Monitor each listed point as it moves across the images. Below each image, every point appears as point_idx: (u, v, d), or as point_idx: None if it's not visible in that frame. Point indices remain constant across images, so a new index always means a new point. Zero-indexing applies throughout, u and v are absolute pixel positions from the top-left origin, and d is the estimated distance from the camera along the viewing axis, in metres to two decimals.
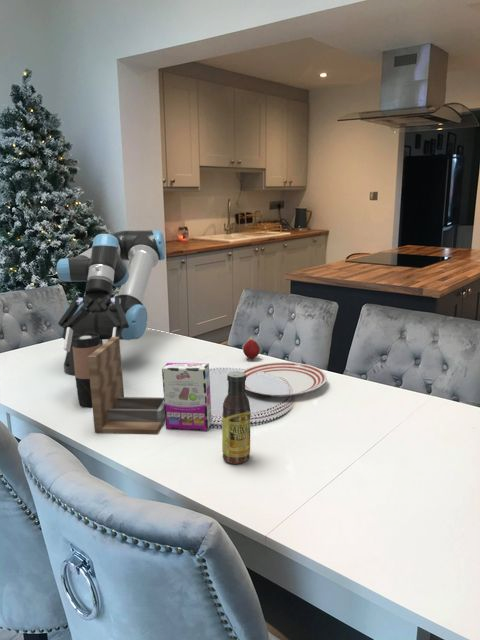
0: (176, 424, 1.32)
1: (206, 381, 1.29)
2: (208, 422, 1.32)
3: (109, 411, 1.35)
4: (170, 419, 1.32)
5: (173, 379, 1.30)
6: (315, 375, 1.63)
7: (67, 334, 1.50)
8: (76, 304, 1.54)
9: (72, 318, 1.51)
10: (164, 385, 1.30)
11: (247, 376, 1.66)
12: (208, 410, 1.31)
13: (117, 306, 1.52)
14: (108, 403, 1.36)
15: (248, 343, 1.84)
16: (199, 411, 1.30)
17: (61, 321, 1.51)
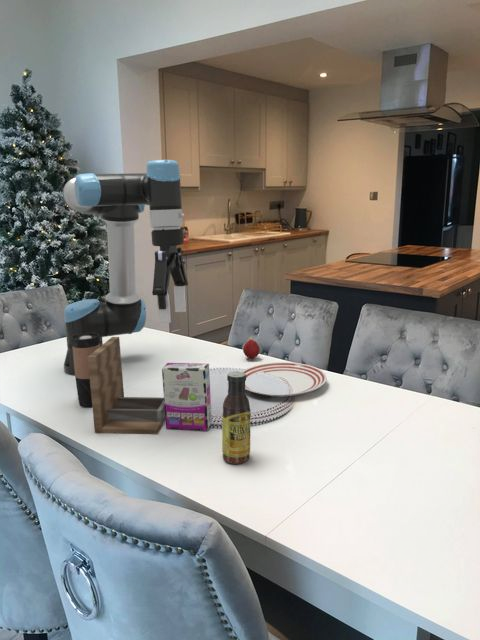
0: (176, 424, 1.32)
1: (206, 381, 1.29)
2: (208, 422, 1.32)
3: (109, 411, 1.35)
4: (170, 419, 1.32)
5: (173, 379, 1.30)
6: (315, 375, 1.63)
7: (169, 304, 1.21)
8: None
9: (167, 282, 1.20)
10: (164, 385, 1.30)
11: (247, 376, 1.66)
12: (208, 410, 1.31)
13: (181, 260, 1.32)
14: (108, 403, 1.36)
15: (248, 343, 1.84)
16: (199, 411, 1.30)
17: (164, 288, 1.17)
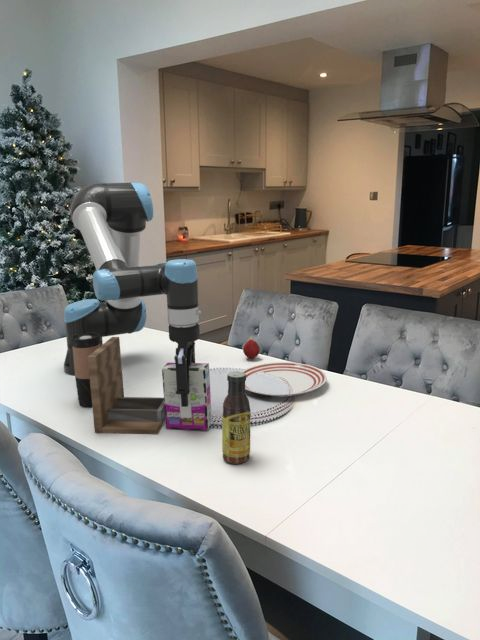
0: (176, 424, 1.32)
1: (206, 380, 1.29)
2: (208, 422, 1.32)
3: (109, 411, 1.35)
4: (170, 419, 1.32)
5: (173, 379, 1.30)
6: (315, 375, 1.63)
7: (190, 401, 1.30)
8: None
9: (188, 380, 1.28)
10: (164, 385, 1.30)
11: (247, 376, 1.66)
12: (208, 410, 1.31)
13: (194, 354, 1.35)
14: (108, 403, 1.36)
15: (248, 343, 1.84)
16: (199, 411, 1.30)
17: (187, 389, 1.26)
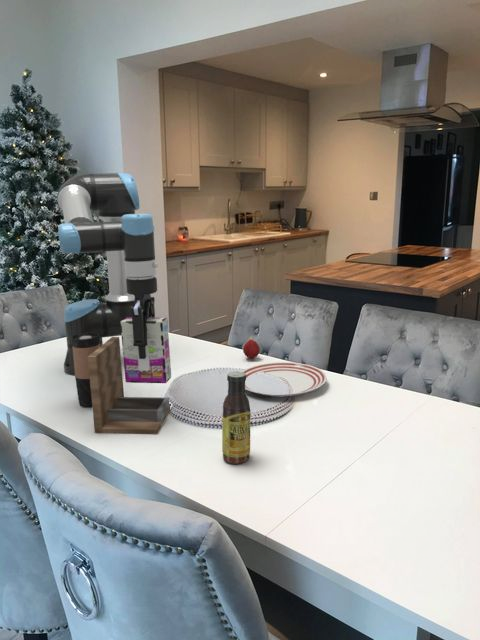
0: (135, 377, 1.34)
1: (163, 333, 1.31)
2: (167, 375, 1.34)
3: (109, 411, 1.35)
4: (129, 372, 1.34)
5: (131, 332, 1.32)
6: (315, 375, 1.63)
7: (148, 353, 1.32)
8: None
9: (146, 333, 1.30)
10: (123, 338, 1.33)
11: (247, 376, 1.66)
12: (166, 363, 1.34)
13: (153, 310, 1.38)
14: (108, 403, 1.36)
15: (248, 343, 1.84)
16: (157, 364, 1.33)
17: (144, 340, 1.28)
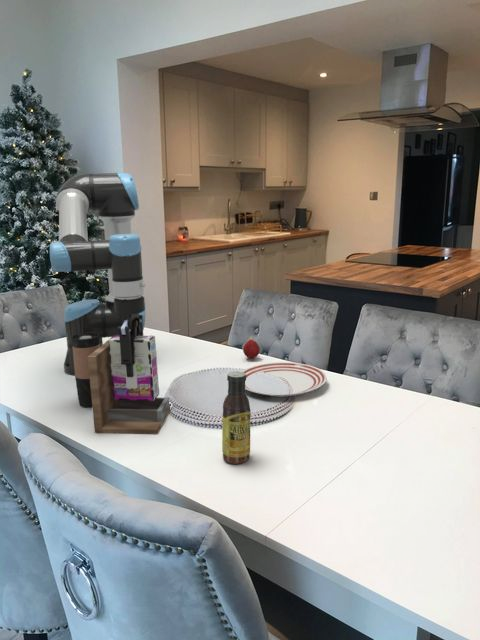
0: (123, 395, 1.36)
1: (151, 352, 1.33)
2: (154, 393, 1.36)
3: (109, 411, 1.35)
4: (117, 390, 1.36)
5: (119, 351, 1.33)
6: (315, 375, 1.63)
7: (136, 371, 1.34)
8: None
9: (133, 351, 1.32)
10: (111, 357, 1.34)
11: (247, 376, 1.66)
12: (154, 381, 1.35)
13: (142, 328, 1.39)
14: (108, 403, 1.36)
15: (248, 343, 1.84)
16: (145, 382, 1.34)
17: (131, 359, 1.30)
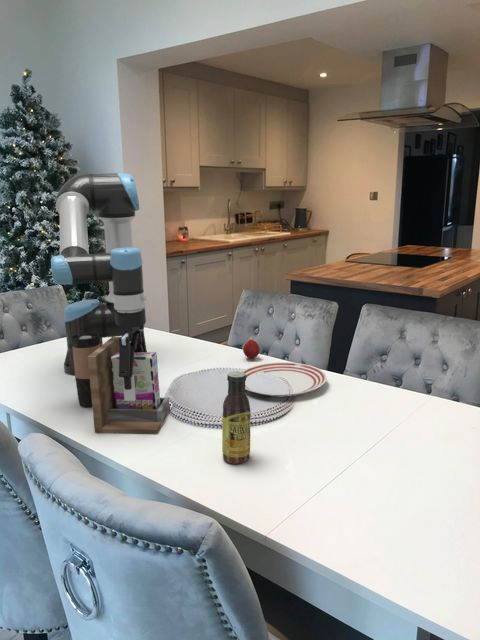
0: None
1: (153, 369, 1.35)
2: (156, 408, 1.38)
3: (109, 411, 1.35)
4: (120, 406, 1.38)
5: None
6: (315, 375, 1.63)
7: (134, 384, 1.32)
8: None
9: (132, 364, 1.31)
10: (113, 374, 1.36)
11: (247, 376, 1.66)
12: (156, 397, 1.38)
13: (143, 336, 1.41)
14: (108, 403, 1.36)
15: (248, 343, 1.84)
16: (147, 398, 1.36)
17: (129, 372, 1.28)
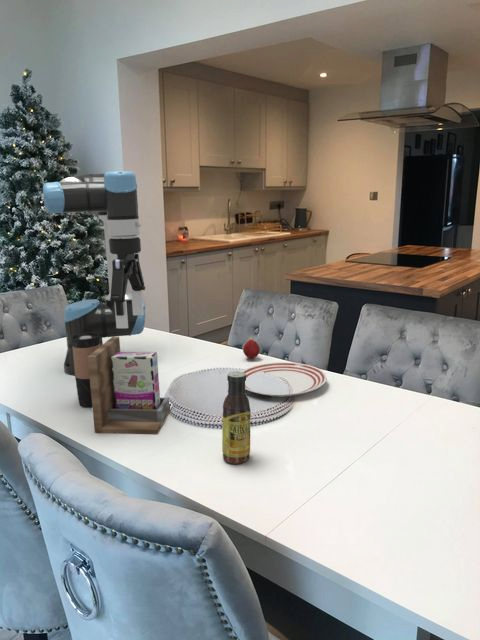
0: None
1: (153, 368, 1.35)
2: (156, 408, 1.38)
3: (109, 411, 1.35)
4: (120, 406, 1.38)
5: (122, 368, 1.35)
6: (315, 375, 1.63)
7: (126, 310, 1.26)
8: None
9: (125, 289, 1.25)
10: (113, 373, 1.36)
11: (247, 376, 1.66)
12: (156, 397, 1.38)
13: (139, 266, 1.37)
14: (108, 403, 1.36)
15: (248, 343, 1.84)
16: (147, 398, 1.37)
17: (121, 296, 1.23)
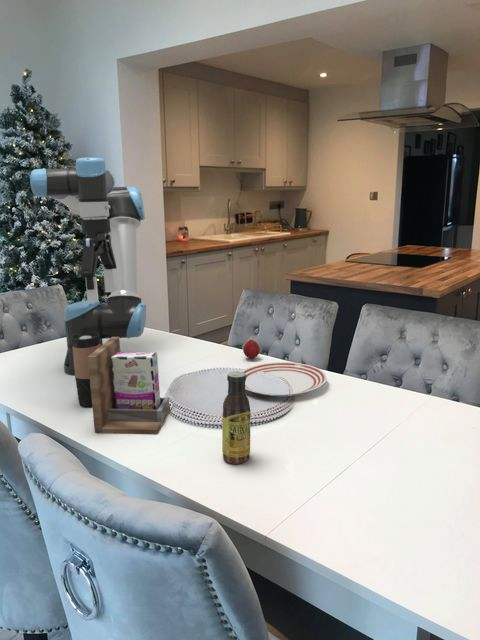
0: None
1: (153, 368, 1.35)
2: (156, 408, 1.38)
3: (109, 411, 1.35)
4: (120, 406, 1.38)
5: (122, 367, 1.35)
6: (315, 375, 1.63)
7: (96, 285, 1.38)
8: None
9: (95, 266, 1.37)
10: (113, 373, 1.36)
11: (247, 376, 1.66)
12: (156, 397, 1.38)
13: (110, 246, 1.49)
14: (108, 403, 1.36)
15: (248, 343, 1.84)
16: (147, 398, 1.37)
17: (91, 271, 1.34)
